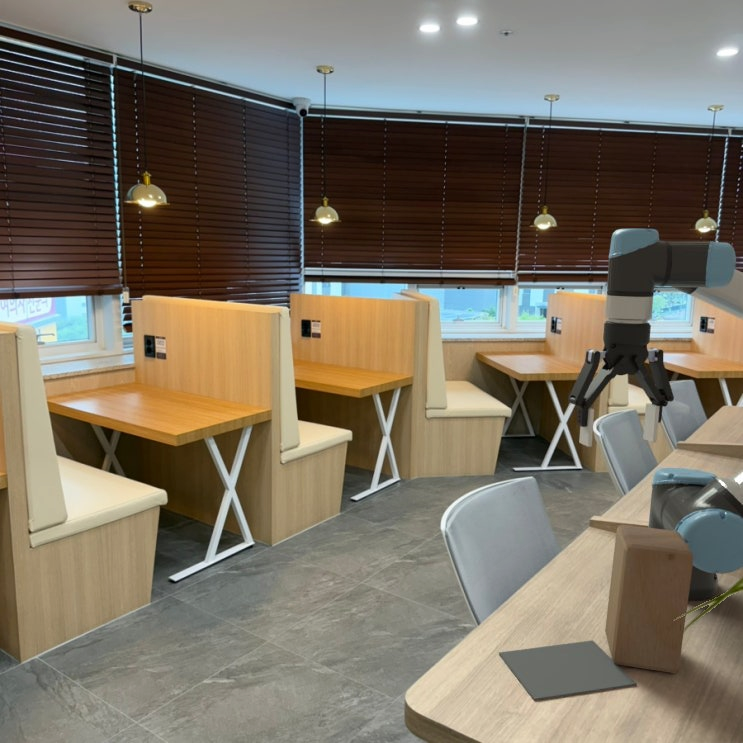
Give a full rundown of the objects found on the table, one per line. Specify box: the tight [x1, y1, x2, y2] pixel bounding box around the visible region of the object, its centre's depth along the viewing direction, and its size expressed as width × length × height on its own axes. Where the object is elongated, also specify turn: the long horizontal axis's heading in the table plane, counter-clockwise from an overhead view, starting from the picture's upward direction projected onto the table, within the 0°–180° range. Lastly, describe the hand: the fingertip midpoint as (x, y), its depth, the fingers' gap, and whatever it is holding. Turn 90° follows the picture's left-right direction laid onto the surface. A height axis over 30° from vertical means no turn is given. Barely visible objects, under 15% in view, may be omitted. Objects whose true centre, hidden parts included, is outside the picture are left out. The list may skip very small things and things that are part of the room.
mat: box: [498, 640, 638, 701], centre depth 107 cm, size 17×12×1 cm
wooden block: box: [604, 524, 694, 674], centre depth 110 cm, size 10×10×20 cm
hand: (617, 442), depth 122 cm, fingers open, 12 cm apart
